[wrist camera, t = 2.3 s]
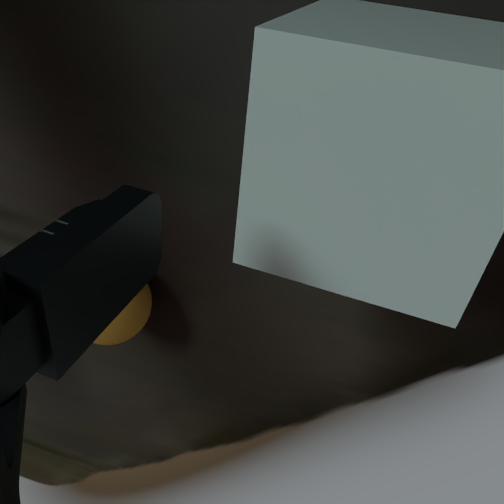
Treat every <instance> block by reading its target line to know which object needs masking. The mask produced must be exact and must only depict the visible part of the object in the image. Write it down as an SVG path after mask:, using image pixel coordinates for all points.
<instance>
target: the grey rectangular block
mask: <svg viewBox="0 0 504 504" xmlns="http://www.w3.org/2000/svg"><path fill="white" fill-rule="evenodd" d="M503 232H504V23H503V22H497V21H490V20H484V19H477V18H471V17H464V16H458V15H451V14H445V13H438V12H432V11H425V10H419V9H412V8H406V7H399V6H393V5H386V4H380V3H373V2H367V1H360V0H320V1H317V2H315V3H312V4H310V5H308V6H305V7H303V8H300V9H298V10H295V11H293V12H290V13H288V14H286V15H283V16H281V17H278V18H276V19H273V20H271V21H268V22H266V23H263V24H261V25H259V26H256V27H255V34H254V45H253V55H252V66H251V76H250V87H249V97H248V108H247V118H246V128H245V139H244V149H243V160H242V170H241V181H240V191H239V202H238V212H237V223H236V233H235V244H234V254H233V263H237V264H240V265H243V266H247V267H250V268H253V269H257V270H260V271H263V272H267V273H270V274H274V275H277V276H280V277H284V278H287V279H290V280H294V281H297V282H300V283H304V284H307V285H311V286H314V287H317V288H321V289H324V290H327V291H331V292H334V293H337V294H341V295H344V296H348V297H351V298H354V299H358V300H361V301H364V302H368V303H371V304H374V305H378V306H381V307H385V308H388V309H391V310H395V311H398V312H401V313H405V314H408V315H411V316H415V317H418V318H422V319H425V320H428V321H432V322H435V323H438V324H442V325H445V326H448V327H452V328H455V329H456V327H457V325H458V323H459V321H460V318H461V316H462V314H463V312H464V310H465V308H466V306H467V304H468V302H469V300H470V298H471V296H472V294H473V292H474V290H475V288H476V286H477V284H478V282H479V280H480V278H481V276H482V274H483V272H484V270H485V268H486V266H487V264H488V262H489V260H490V258H491V256H492V254H493V252H494V250H495V248H496V246H497V244H498V242H499V240H500V238H501V236H502V234H503Z"/></svg>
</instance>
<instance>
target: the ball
mask: <svg viewBox="0 0 504 504" xmlns="http://www.w3.org/2000/svg"><path fill="white" fill-rule="evenodd" d="M151 308H152V297H151V291H150V288H149V286H148V284H146V285H145V286H144V287H143V289H142V290H141V291H140V292H139V293H138V294H137V295H136V296H135V297H134V298H133V299H132V301H131V302H130V303H129V304H128V305H127V306H126V307H125V308H124V309H123V310H122V311H121V313H120V314H119V315H118V316H117V317H116V318H115V319H114V320H113V321H112V322H111V323H110V324H109V326H108V327H107V328H106V329H105V330H104V331H103V332H102V333H101V334H100V335H99V336H98V338H97V339H96V340H95V341H94V342H93V343H95V344H100V345H113V344H119V343H122V342H124V341H127V340H129V339H130V338H132V337H134V336H135V335H136V334H137V333H138V332H139V331H140V330H141V329H142V328H143V327H144V325H145V324H146V322H147V320H148V318H149V316H150V312H151Z"/></svg>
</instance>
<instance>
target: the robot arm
mask: <svg viewBox="0 0 504 504" xmlns="http://www.w3.org/2000/svg"><path fill="white" fill-rule="evenodd" d="M161 249H162V202H161V198H160V196H159V195H158V194H156V193H153V192H149V191H146V190H142V189H139V188H135V187H132V186H128V185H124V186H122V187H120V188H119V189H117V190H116V191H114V192H113V193H112V194H110V195H109V196H107V197H106V198H104V199H103V200H102V201H101V200H96V201H93V202H90V203H87V204H84V205H81V206H78V207H75V208H74V209H72V210H71V211H69V212H68V213H66V214H65V215H63V216H62V217H60V218H59V219H58V221H57V222H53V223H51V224H50V225H48V226H47V227H45V228H44V229H43V232H40V231H39V232H38V233H37V234H35V235H34V236H32V237H31V238H29V239H28V240H26V241H25V242H23V243H22V244H20V245H19V246H17V247H16V248H14V249H13V250H11V251H10V252H8V253H7V254H5V255H4V256H2V257H1V258H0V504H20V496H19V474H20V463H21V452H22V442H23V431H24V420H25V409H26V398H27V387H26V382H27V381H28V380H29V379H30V378H31V377H32V376H33V375H34V374H35V373H36V372H38V373H40V374H43V375H45V376H48V377H50V378H53V379H55V380H57V381H58V380H59V379H60V378H61V377H62V376H63V375H64V373H65V372H66V371H67V370H68V369H69V368H70V367H71V366H72V365H73V364H74V363H75V361H76V360H77V359H78V358H79V357H80V356H81V355H82V354H83V353H84V352H85V351H86V349H87V348H88V347H89V346H90V345H91V344H92V343H93V342H94V341H95V340H96V339H97V338H98V336H99V335H100V334H101V333H102V332H103V331H104V330H105V329H106V328H107V327H108V326H109V324H110V323H111V322H112V321H113V320H114V319H115V318H116V317H117V316H118V315H119V314H120V313H121V311H122V310H123V309H124V308H125V307H126V306H127V305H128V304H129V303H130V302H131V301H132V299H133V298H134V297H135V296H136V295H137V294H138V293H139V292H140V291H141V290H142V289H143V287H144V286H145V285H146V284H147V283H148V282H149V281H150V280H151V279H152V277H153V276H154V274H155V273H156V271H157V269H158V266H159V263H160V259H161Z"/></svg>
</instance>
